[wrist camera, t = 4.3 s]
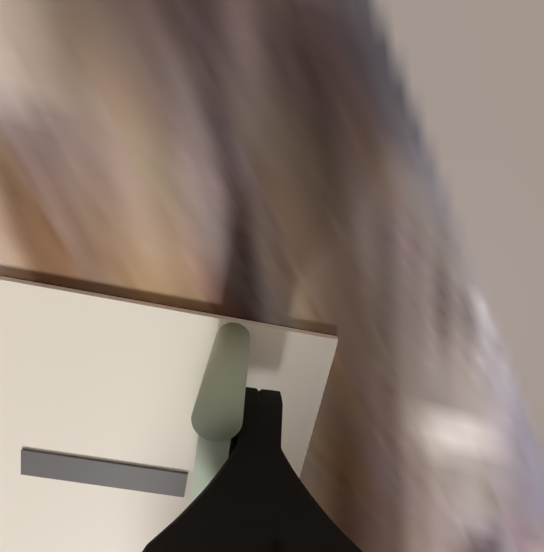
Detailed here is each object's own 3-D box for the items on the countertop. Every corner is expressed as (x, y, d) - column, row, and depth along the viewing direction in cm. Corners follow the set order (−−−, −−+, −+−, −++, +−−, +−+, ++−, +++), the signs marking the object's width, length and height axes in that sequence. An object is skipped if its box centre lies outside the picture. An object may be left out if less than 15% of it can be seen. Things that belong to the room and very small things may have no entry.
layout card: (259, 611, 17) (259, 621, 17) (3, 581, 16) (-3, 591, 16) (336, 336, 13) (339, 341, 13) (-2, 275, 12) (-11, 279, 12)
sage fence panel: (227, 476, 14) (211, 600, 10) (197, 472, 14) (168, 596, 10) (252, 325, 12) (246, 401, 8) (217, 319, 12) (194, 395, 8)
